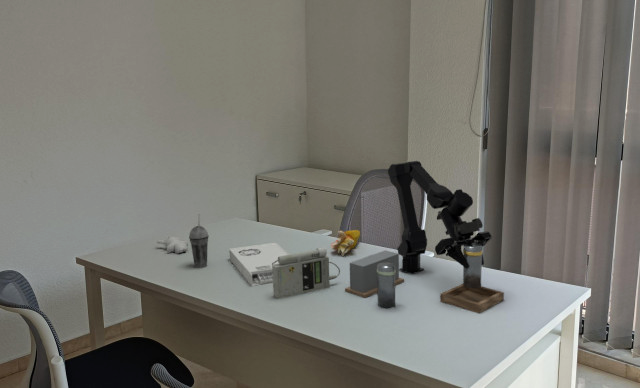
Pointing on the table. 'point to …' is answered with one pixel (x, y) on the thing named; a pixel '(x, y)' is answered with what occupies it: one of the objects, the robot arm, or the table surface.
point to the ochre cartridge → (472, 265)
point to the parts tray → (472, 298)
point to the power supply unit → (256, 261)
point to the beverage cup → (199, 245)
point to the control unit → (370, 273)
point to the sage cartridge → (386, 284)
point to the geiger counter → (301, 273)
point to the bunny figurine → (174, 244)
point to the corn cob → (346, 241)
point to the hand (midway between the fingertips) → (475, 266)
